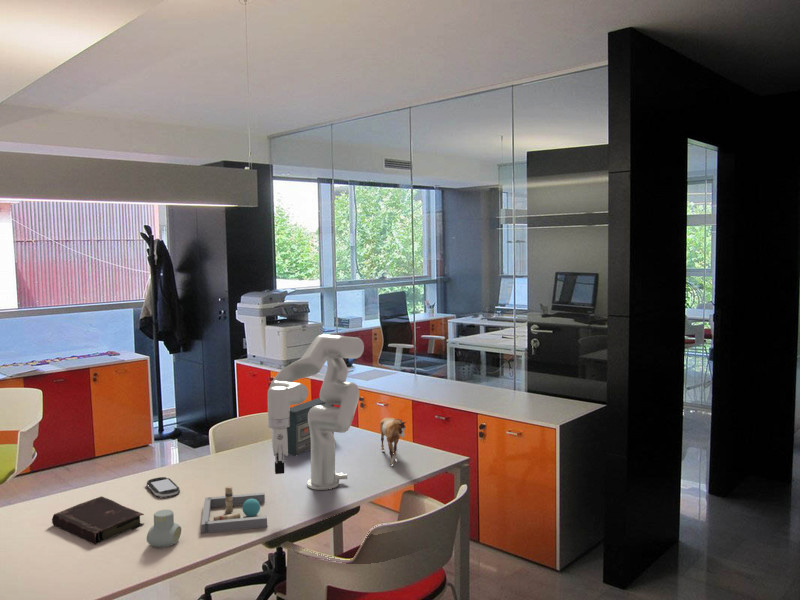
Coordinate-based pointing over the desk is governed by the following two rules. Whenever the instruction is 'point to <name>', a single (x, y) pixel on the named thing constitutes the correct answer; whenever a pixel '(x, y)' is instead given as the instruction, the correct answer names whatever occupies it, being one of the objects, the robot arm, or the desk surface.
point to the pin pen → (231, 523)
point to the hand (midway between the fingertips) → (279, 472)
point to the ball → (251, 507)
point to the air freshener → (164, 530)
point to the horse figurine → (392, 433)
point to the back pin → (229, 499)
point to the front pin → (227, 517)
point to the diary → (97, 519)
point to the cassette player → (301, 427)
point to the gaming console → (163, 487)
